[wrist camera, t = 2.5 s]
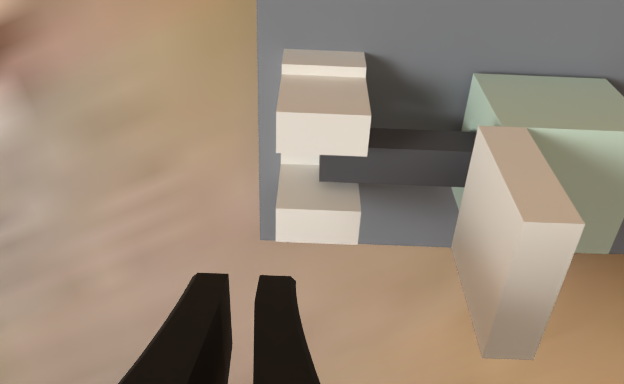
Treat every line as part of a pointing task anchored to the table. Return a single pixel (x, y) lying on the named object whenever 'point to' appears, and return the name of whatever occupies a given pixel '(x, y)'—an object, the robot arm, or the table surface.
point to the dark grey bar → (405, 159)
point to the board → (398, 98)
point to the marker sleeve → (534, 199)
